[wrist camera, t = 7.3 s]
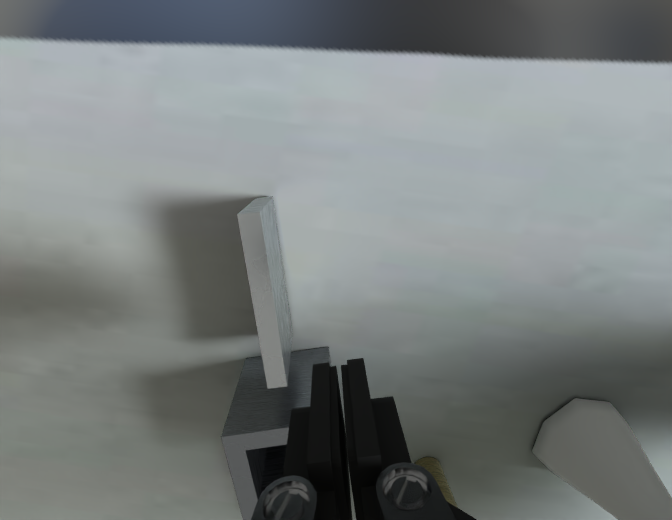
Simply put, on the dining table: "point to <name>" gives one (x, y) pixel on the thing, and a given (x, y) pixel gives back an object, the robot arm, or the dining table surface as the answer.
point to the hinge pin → (437, 476)
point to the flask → (602, 460)
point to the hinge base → (264, 424)
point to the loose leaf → (267, 287)
